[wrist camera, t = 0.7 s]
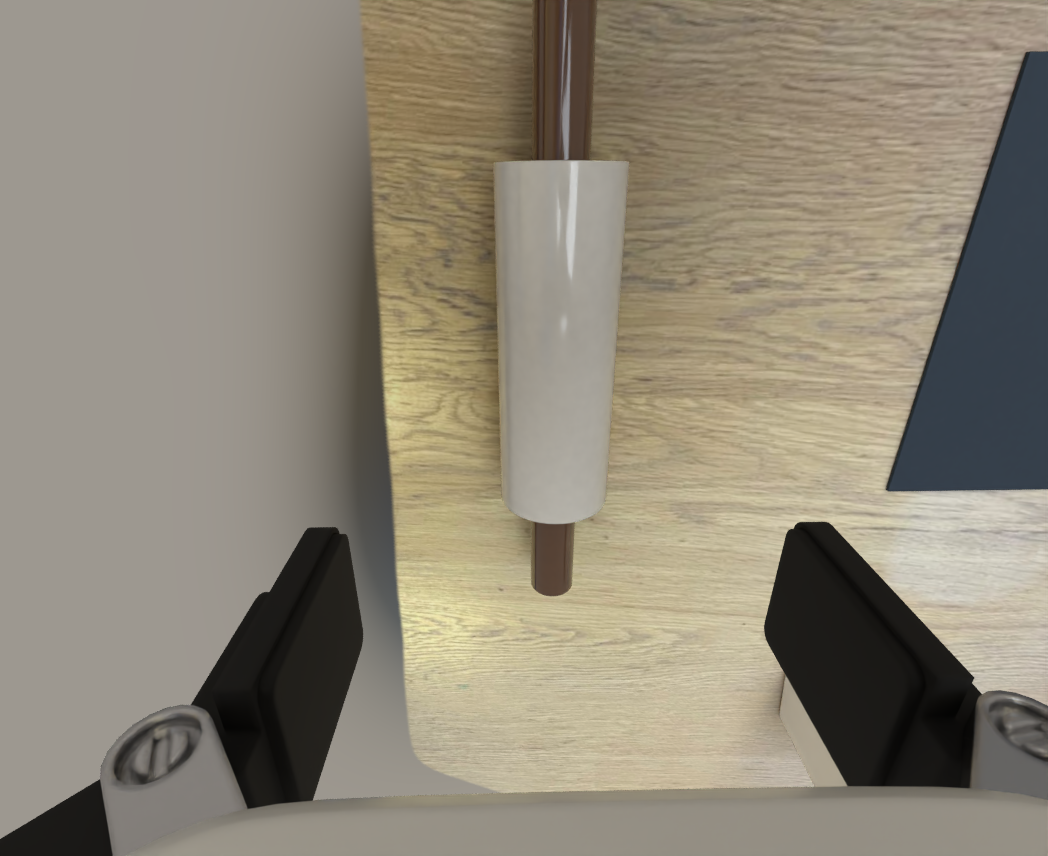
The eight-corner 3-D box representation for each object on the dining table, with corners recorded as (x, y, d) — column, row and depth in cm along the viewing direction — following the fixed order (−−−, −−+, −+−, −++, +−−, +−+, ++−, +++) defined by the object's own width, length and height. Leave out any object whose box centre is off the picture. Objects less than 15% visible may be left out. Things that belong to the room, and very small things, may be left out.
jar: (879, 725, 42) (1010, 919, 31) (772, 733, 42) (864, 929, 31) (903, 638, 38) (1062, 825, 27) (786, 648, 38) (896, 837, 27)
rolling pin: (594, 552, 34) (605, 618, 29) (505, 551, 34) (500, 617, 29) (629, 1, 22) (657, -51, 17) (494, 2, 22) (481, -49, 17)
